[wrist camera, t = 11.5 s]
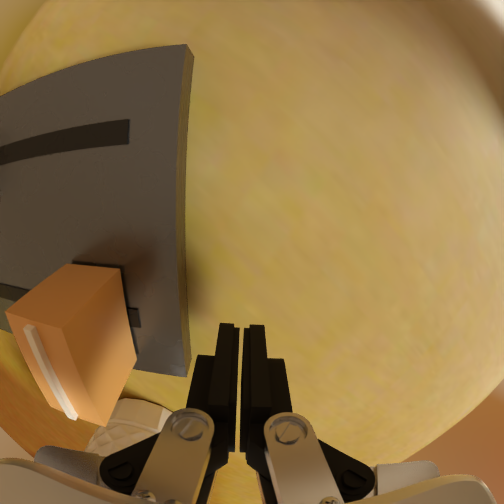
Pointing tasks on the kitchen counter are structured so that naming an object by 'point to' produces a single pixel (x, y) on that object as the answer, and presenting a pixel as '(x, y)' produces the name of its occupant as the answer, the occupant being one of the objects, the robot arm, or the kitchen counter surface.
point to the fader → (76, 339)
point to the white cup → (128, 426)
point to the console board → (103, 189)
